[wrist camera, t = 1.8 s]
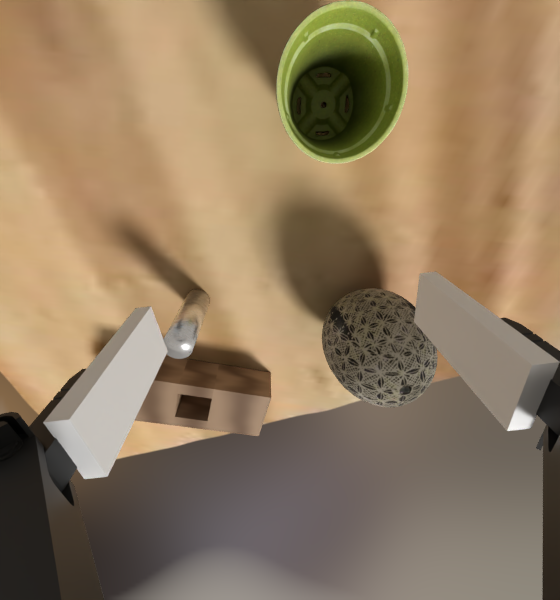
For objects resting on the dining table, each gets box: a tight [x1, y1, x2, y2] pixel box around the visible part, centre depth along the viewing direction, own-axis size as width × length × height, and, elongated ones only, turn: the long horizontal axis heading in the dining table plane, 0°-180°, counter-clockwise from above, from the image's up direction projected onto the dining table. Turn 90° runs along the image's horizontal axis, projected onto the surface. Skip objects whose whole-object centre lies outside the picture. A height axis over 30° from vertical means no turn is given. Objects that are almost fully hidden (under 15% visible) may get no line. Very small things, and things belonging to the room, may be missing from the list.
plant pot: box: [276, 0, 408, 164], centre depth 24 cm, size 9×9×9 cm
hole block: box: [135, 355, 271, 436], centre depth 42 cm, size 20×8×5 cm, turn 76°
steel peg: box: [164, 289, 210, 359], centre depth 33 cm, size 3×3×10 cm
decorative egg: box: [322, 288, 437, 407], centre depth 33 cm, size 12×12×15 cm
